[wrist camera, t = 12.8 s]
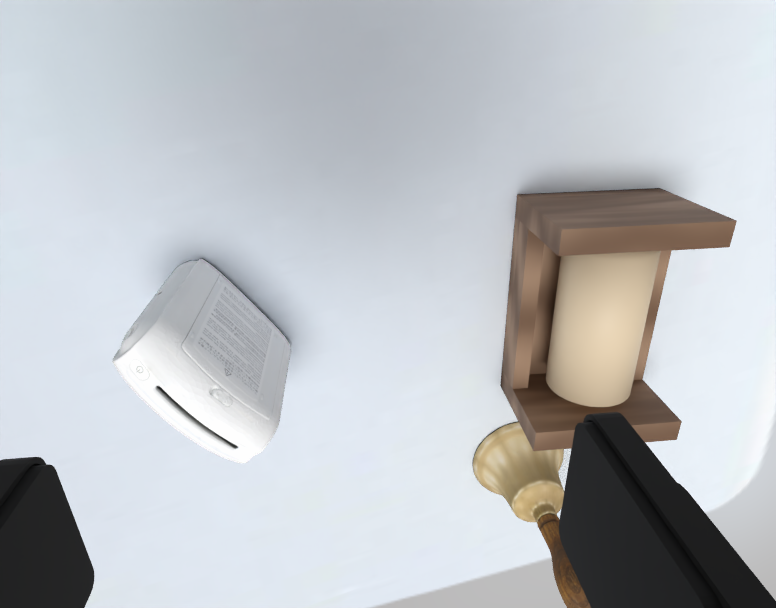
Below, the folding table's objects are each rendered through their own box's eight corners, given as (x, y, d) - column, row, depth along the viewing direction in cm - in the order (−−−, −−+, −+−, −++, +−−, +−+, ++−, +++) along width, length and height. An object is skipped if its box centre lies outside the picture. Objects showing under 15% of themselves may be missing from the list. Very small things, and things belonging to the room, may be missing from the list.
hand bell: (581, 438, 47) (689, 606, 33) (529, 502, 50) (608, 683, 36) (504, 408, 45) (585, 574, 31) (455, 476, 48) (508, 659, 34)
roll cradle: (517, 194, 37) (561, 229, 30) (659, 188, 38) (736, 220, 31) (500, 385, 44) (533, 451, 37) (621, 377, 45) (676, 439, 38)
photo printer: (155, 282, 37) (80, 381, 26) (198, 245, 36) (140, 331, 25) (258, 375, 41) (232, 495, 30) (300, 344, 41) (288, 455, 29)
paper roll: (548, 230, 37) (590, 261, 32) (628, 225, 38) (682, 253, 33) (533, 366, 42) (566, 412, 37) (604, 359, 43) (647, 403, 37)
